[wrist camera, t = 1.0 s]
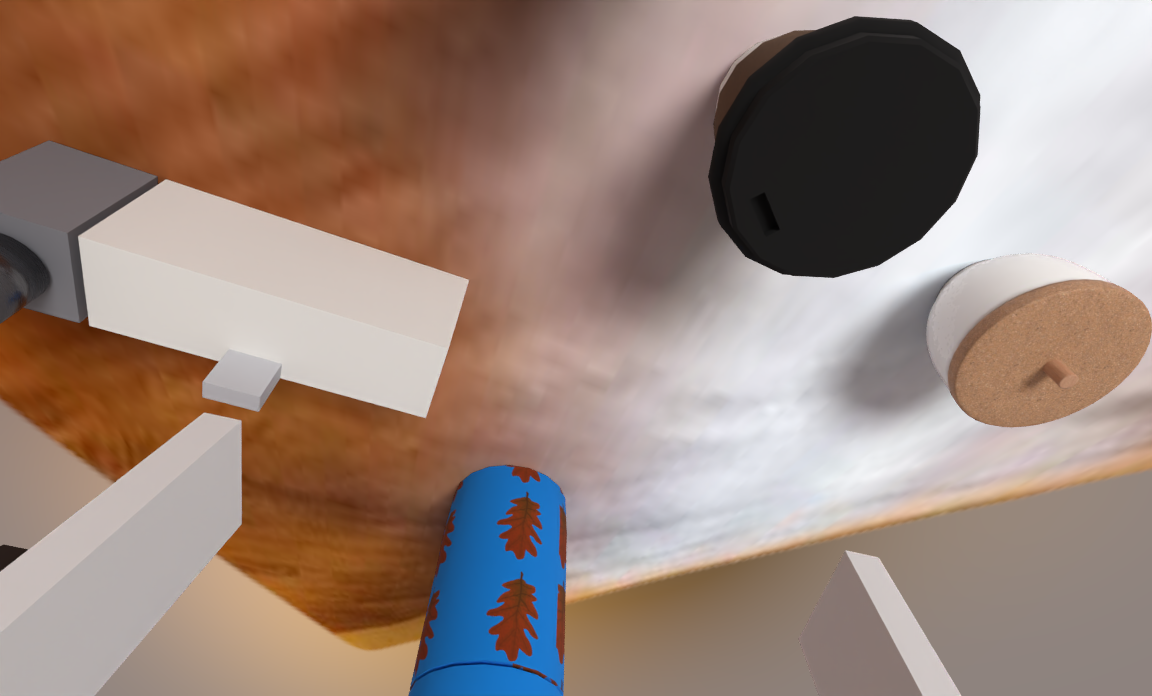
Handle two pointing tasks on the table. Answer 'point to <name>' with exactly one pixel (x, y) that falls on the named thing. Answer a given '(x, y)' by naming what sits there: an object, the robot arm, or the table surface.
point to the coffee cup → (841, 144)
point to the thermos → (498, 591)
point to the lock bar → (19, 276)
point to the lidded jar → (1033, 338)
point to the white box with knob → (228, 283)
